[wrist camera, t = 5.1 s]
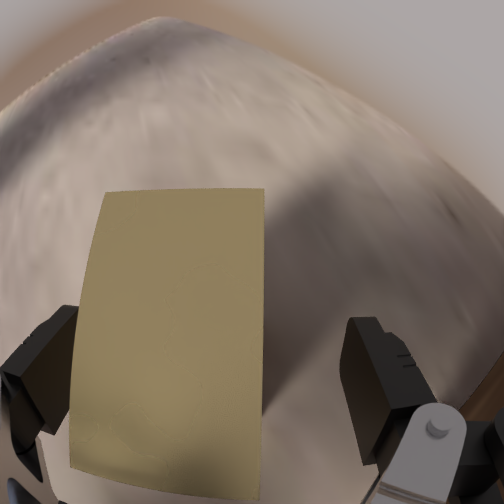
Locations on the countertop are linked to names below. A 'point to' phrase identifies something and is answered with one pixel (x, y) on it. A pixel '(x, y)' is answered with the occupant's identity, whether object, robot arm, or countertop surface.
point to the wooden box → (487, 401)
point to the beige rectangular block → (172, 343)
